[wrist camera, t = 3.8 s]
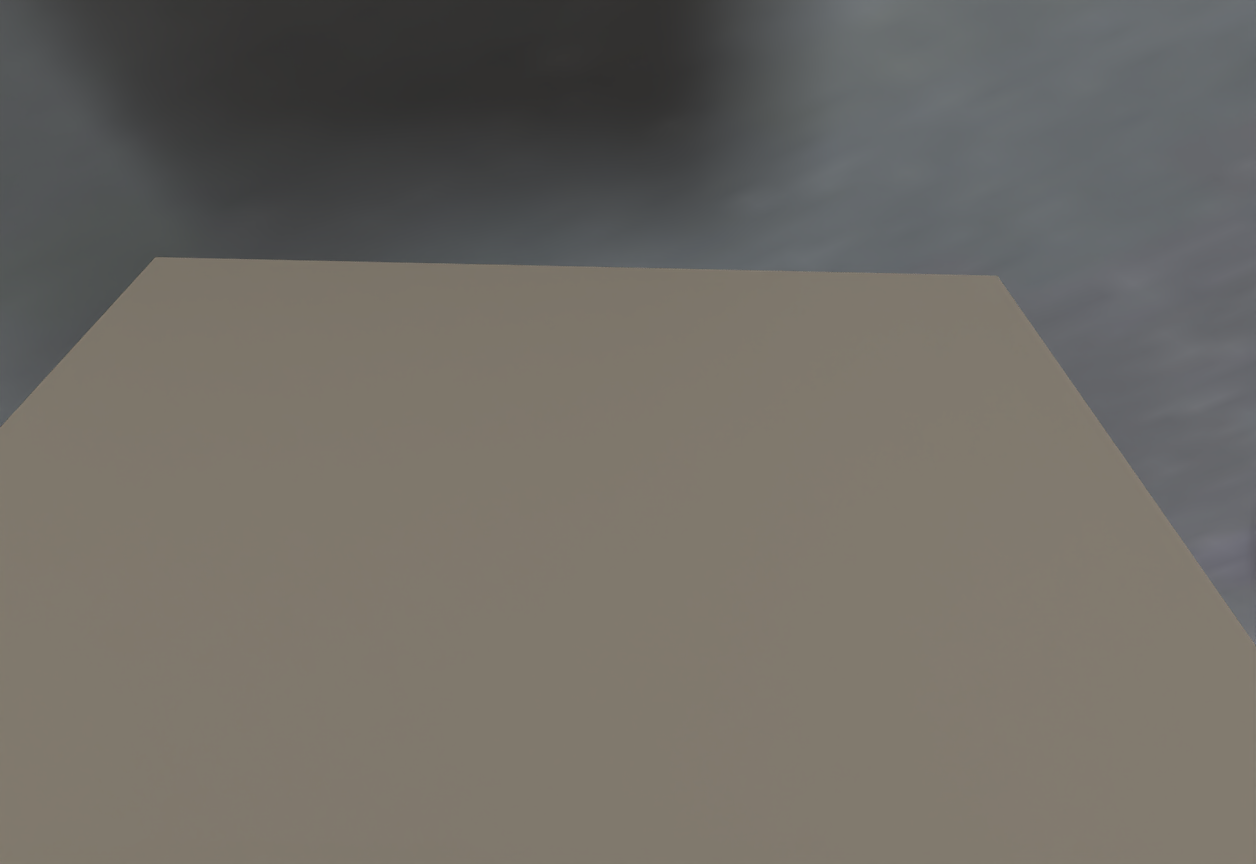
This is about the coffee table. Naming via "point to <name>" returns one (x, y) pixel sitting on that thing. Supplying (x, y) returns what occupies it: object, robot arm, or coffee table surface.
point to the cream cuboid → (596, 581)
